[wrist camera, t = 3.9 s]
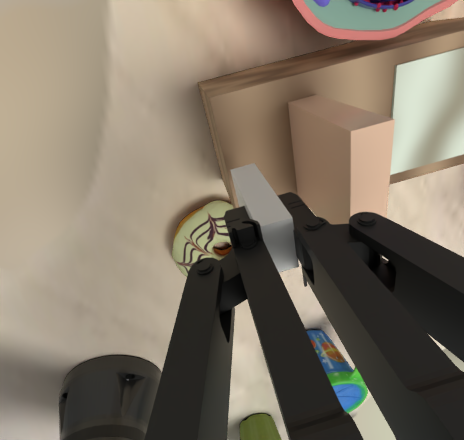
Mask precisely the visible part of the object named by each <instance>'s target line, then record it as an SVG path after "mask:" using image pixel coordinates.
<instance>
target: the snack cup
mask: <svg viewBox="0 0 464 440" xmlns="http://www.w3.org/2000/svg"><path fill="white" fill-rule="evenodd" d="M306 332H307V334H308V336H309V338H310V340H311V342H312V344H313V347H314V349H315V351H316V353H317V355H318V357H319V359H320V361H321V363H322V366H323V368H324V370H325V372H326V374H327V376H328V378H329V380H330V383H331V385H332V387H333V389H334V391H335V393H336V395H337V397H338V400H339V402H340V404H341V405H342V407H343V409H344V410H345V411H346V412H347V413H349V412H351V411H353V410H354V409H356V408H357V407H358V406H359V405H360V404H362V402H363V401H364V400H365V398H366V396H367V393H368V390H367V387H366V385H365V383H364V380H363V379H362V377H361V375H360V373H359V372H358V370H357V368H356V366H355V369H354V370H353V369H352V368H351V367H350V366H349V364H348V362H347V361H346V360H345V358H344V357H343V355H342V354H341V353H340V352H339V350H338V349H337V348H336V346H335V345H334V343H333V342H332V340H331V339H330V338H329V337H328V336H327V335H326V334H325V333H324V332H323V331H322V330H310V331H306Z"/></svg>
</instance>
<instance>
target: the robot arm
mask: <svg viewBox="0 0 464 440" xmlns="http://www.w3.org/2000/svg"><path fill="white" fill-rule="evenodd" d="M230 171H231V175H232V179H233V183H234V187H235V191H236V196H237V200H238V204H239V207H238V208H234V209H231V210H227V211H226V212H225V215H224V220H225V224H226V227H227V231H228V234H229V238H230V241H231V245H232V248H231V251H230V252H229V254H228V255H227V256H225V257H224V258H222V259H221V260H219V261H218V260H217V259H215V258H208V257H207V258H203V259H200V260H198V261H196V262H195V263H194V264H193V265H192V266H191V267H190V269H189V272H188V276H187V280H186V283H185V287H184V291H183V295H182V299H181V302H180V306H179V310H178V314H177V318H176V321H175V325H174V329H173V333H172V337H171V340H170V344H169V348H168V352H167V355H166V359H165V363H164V367H163V371H162V373H161V371H160V370H159V369H158V368H157V367H156V366H155V365H153V364H152V363H150V362H148V361H146V360H143V359H140V358H136V357H131V356H105V357H100V358H96V359H92V360H89V361H87V362H84V363H82V364H80V365H79V366H77V367H75V368H74V369H73V370H72V371H71V372H70V373H69V374H68V375H67V376H66V378H65V380H64V383H63V386H62V389H61V392H60V397H59V430H60V440H227V426H228V411H229V395H230V379H231V364H232V348H233V332H234V317H235V308H234V307H235V306H237V305H238V304H240V303H241V302H243V301H245V300H246V299H248V303H249V306H250V310H251V313H252V316H253V320H254V323H255V326H256V330H257V333H258V336H259V340H260V343H261V347H262V350H263V353H264V357H265V360H266V363H267V367H268V370H269V374H270V377H271V380H272V384H273V387H274V390H275V394H276V397H277V400H278V404H279V407H280V411H281V414H282V417H283V421H284V424H285V427H286V431H287V434H288V438H289V440H363V438H362V436H361V434H360V431H359V430H358V428H357V426H356V424H355V422H354V420H353V419H352V417H351V416H350V414H349V413H347V412H346V411H345V410H344V409H343V407H342V405H341V404H340V402H339V400H338V397H337V395H336V393H335V391H334V389H333V387H332V385H331V383H330V380H329V378H328V376H327V374H326V372H325V370H324V368H323V366H322V363H321V361H320V359H319V357H318V355H317V353H316V351H315V349H314V347H313V344H312V342H311V340H310V338H309V336H308V334H307V332H306V330H305V327H304V325H303V323H302V321H301V319H300V317H299V315H298V313H297V310H296V308H295V306H294V304H293V302H292V300H291V298H290V296H289V293H288V291H287V289H286V287H285V285H284V283H283V281H282V279H281V277H280V274H279V272H283V271H286V270H289V269H293V268H296V267H299V264H298V259H299V261H300V263H301V264H302V272H303V281H304V286H307V282H308V284H309V285H310V287H311V289H312V291H313V292H314V294H315V296H316V298H317V299H318V301H319V303H320V305H321V306H322V308H323V310H324V312H325V314H326V315H327V317H328V319H329V321H330V322H331V324H332V326H333V328H334V329H335V331H336V333H337V335H338V336H339V338H340V340H341V342H342V343H343V345H344V347H345V349H346V351H347V352H348V354H349V356H350V358H351V359H352V361H353V363H354V365H355V366H356V368H357V370H358V372H359V373H360V375H361V377H362V379H363V380H364V382H365V384H366V386H367V388H368V389H369V391H370V393H371V395H372V396H373V398H374V400H375V401H376V403H377V405H378V407H379V409H380V410H381V412H382V414H383V416H384V417H385V419H386V421H387V423H388V424H389V426H390V428H391V430H392V431H393V433H394V435H395V437H396V440H464V372H462V371H461V370H460V369H459V368H458V367H457V366H455V364H454V363H453V362H452V361H451V360H450V359H449V358H448V357H447V355H446V354H445V353H444V352H443V351H442V350H441V349H440V347H439V346H438V345H437V344H436V343H435V342H434V341H433V340H432V338H431V337H433V338H434V339H435V340H436V341H438V342H439V343H440V344H441V345H443V346H444V347H445V348H447V349H448V350H449V351H451V352H452V353H453V354H454V355H455V356H457V357H458V358H459V359H460V360H462V361H463V362H464V257H462V256H460V255H458V254H456V253H454V252H452V251H450V250H448V249H446V248H444V247H442V246H440V245H438V244H436V243H434V242H432V241H430V240H428V239H426V238H425V237H423V236H421V235H419V234H417V233H415V232H413V231H411V230H409V229H407V228H405V227H403V226H401V225H399V224H397V223H395V222H393V221H391V220H389V219H387V218H385V217H383V216H381V215H379V214H376V213H373V212H359V213H356V214H354V215H352V216H351V217H350V219H349V224H330V223H329V222H328V221H327V220H326V219H324V218H321V217H316V216H315V215H314V214H313V213H312V211H311V210H310V209H309V208H308V207H307V205H305V203H304V202H303V201H302V199H301V198H300V197H299V196H298V195H296V194H294V193H292V192H288V193H285V194H281V195H278V196H277V195H276V193H275V192H274V190H273V189H272V188H271V186H270V185H269V183H268V182H267V180H266V179H265V178H264V176H263V175H262V173H261V172H260V170H259V169H258V168H257V166H256V165H255V163H253V164H249V165H245V166H242V167H238V168H235V169H231V170H230ZM382 256H384V257H385V258H387V259H388V260H389V261H387V260H385V259H383V258H382ZM427 333H428V334H429V335H430V336H431V337H430V336H429V335H428V334H427Z"/></svg>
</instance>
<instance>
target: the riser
mask: <svg viewBox="0 0 464 440" xmlns="http://www.w3.org/2000/svg"><path fill="white" fill-rule="evenodd" d="M198 85H199V89H200V93H201V97H202V101H203V105H204V109H205V112H206V116H207V120H208V124H209V128H210V132H211V136H212V140H213V144H214V148H215V152H216V155H217V159H218V163H219V167H220V171H221V175H222V179H223V182H224V184H225V187H226V190H227V192H228V195H229V198H230V200H231V203H232V205H233V208H238V207H239V204H238V200H237V196H236V191H235V187H234V183H233V179H232V175H231V171H230V170H231V169H235V168H238V167H242V166H245V165H249V164H253V163H255V165H256V166H257V168H258V169H259V170H260V172H261V173H262V175H263V176H264V178H265V179H266V180H267V182H268V183H269V185H270V186H271V188H272V189H273V190H274V192H275V193H276V195H277V196H278V195H281V194H285V193H288V192H292V193H294V194H296V195H298V193H297V184H296V174H295V165H294V156H293V146H292V137H291V127H290V118H289V109H288V102H291V101H295V100H299V99H302V98H306V97H310V96H313V95H319V96H322V97H326V98H329V99H332V100H335V101H338V102H341V103H345V104H348V105H351V106H354V107H357V108H361V109H364V110H367V111H370V112H373V113H376V114H380V115H383V116H386V117H389V118H392V119H395V124H394V135H393V147H392V159H391V171H390V182H389V185H390V184H393V183H397V182H400V181H404V180H407V179H411V178H414V177H418V176H421V175H425V174H428V173H432V172H435V171H439V170H443V169H446V168H450V167H453V166H457V165H460V164H464V18H455V19H446V20H437V21H430V22H426V23H422V24H418V25H415V26H413V27H412V28H410V29H409V30H407V31H406V32H404V33H402V34H400V35H398V36H396V37H394V38H389V39H385V40H358V41H354V42H350V43H346V44H343V45H339V46H335V47H331V48H327V49H324V50H320V51H316V52H312V53H308V54H305V55H301V56H297V57H293V58H290V59H286V60H282V61H278V62H274V63H271V64H267V65H263V66H259V67H255V68H252V69H248V70H244V71H240V72H236V73H233V74H229V75H225V76H221V77H217V78H214V79H210V80H206V81H202V82H198ZM298 196H299V195H298ZM299 197H300V196H299ZM302 201H303V200H302ZM303 202H304V201H303ZM304 203H305V202H304ZM305 205H306V203H305ZM307 207H308V206H307Z"/></svg>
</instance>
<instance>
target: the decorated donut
mask: <svg viewBox="0 0 464 440" xmlns="http://www.w3.org/2000/svg"><path fill="white" fill-rule="evenodd" d="M231 209H234V208H233V205H232V204H229V203H227V202H225V201H220V200H218V201H213V202H210V203H209V204H207V205H205V206H203V207H200V208H199V209H196V210H194V211H193V212H191V213H190V214H189V215H187V216H186V217H185V218H184V219H183V220H182V221H181V222H180V223H179V226H178V227H177V230H176V233H175V236H174V243H173V250H172V257H173V259H174V261H175V262H176V265H177V267H178V268H179V270H180V271H181V272H182V273H183V274H184V275H185V276H186V277H187V276H188V272H189V269H190V267H191V266H192V265H193V264H194V263H195V262H196V261H198V260H200V259H203V258H207V257H208V258H215V259H217V260H218V261H219V260H221V259H222V258H224V257H225V256H227V255H228V254H229V252H230V251H231V248H232V246H231V247H230V248H228V249H226V250H218V249H215V248H213V246H214V245H215V244H216V243H220V242H228V243H229V244H230V245H231V241H230V238H229V234H228V231H227V227H226V224H225V220H224V215H225V212H226V211H227V210H231Z"/></svg>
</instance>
